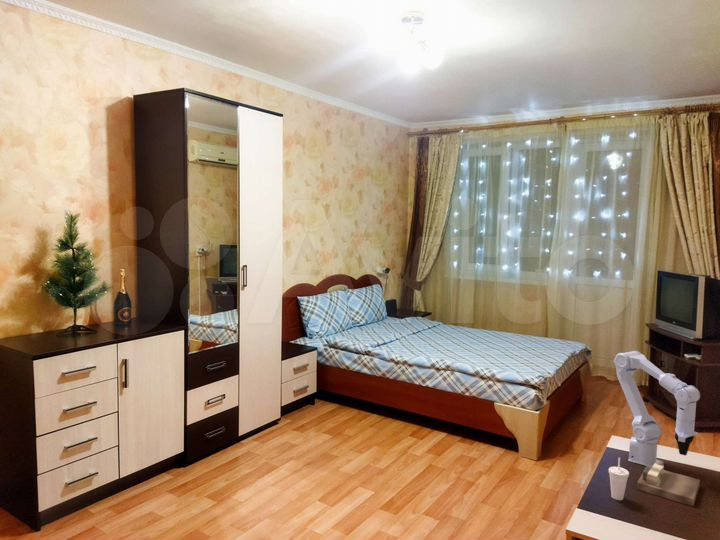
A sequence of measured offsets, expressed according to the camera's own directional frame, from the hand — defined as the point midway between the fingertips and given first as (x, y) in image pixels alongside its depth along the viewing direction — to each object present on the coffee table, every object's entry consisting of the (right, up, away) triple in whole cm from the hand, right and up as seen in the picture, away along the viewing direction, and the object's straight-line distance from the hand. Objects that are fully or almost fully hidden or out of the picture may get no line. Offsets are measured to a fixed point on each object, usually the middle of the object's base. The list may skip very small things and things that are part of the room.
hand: (683, 454), depth 190 cm
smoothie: (-31, -11, -13) cm, 35 cm away
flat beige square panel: (-9, -10, -6) cm, 15 cm away
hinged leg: (-12, -7, -3) cm, 14 cm away
